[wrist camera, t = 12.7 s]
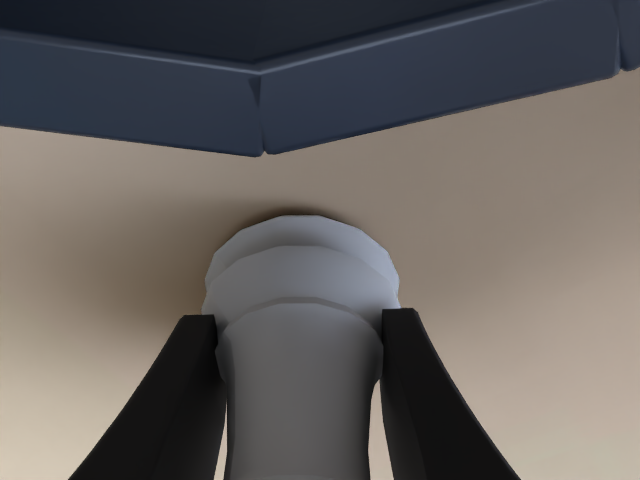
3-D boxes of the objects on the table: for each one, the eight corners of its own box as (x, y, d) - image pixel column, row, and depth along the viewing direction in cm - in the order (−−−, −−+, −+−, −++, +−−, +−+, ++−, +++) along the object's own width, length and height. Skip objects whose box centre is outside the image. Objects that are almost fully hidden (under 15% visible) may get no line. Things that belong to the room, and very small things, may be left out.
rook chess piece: (176, 298, 13) (50, 742, 7) (268, 165, 11) (204, 656, 5) (328, 362, 15) (337, 772, 8) (437, 258, 12) (560, 717, 6)
